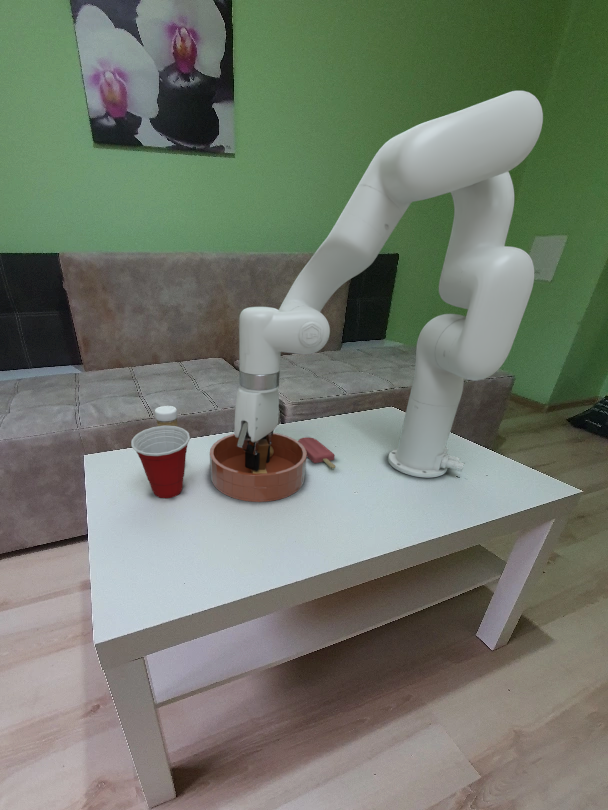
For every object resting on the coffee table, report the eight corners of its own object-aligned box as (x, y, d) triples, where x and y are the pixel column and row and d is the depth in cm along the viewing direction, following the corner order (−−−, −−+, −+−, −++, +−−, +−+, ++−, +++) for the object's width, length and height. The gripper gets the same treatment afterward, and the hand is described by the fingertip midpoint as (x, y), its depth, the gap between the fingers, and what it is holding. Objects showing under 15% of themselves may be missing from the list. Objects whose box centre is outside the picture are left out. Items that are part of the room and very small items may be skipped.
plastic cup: (128, 500, 75) (117, 444, 69) (158, 473, 84) (151, 422, 77) (177, 511, 72) (171, 454, 66) (203, 482, 81) (199, 430, 74)
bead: (269, 460, 90) (275, 449, 90) (269, 460, 87) (276, 448, 87) (258, 454, 90) (264, 443, 90) (258, 453, 87) (264, 442, 87)
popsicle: (323, 466, 84) (294, 438, 96) (322, 472, 84) (293, 444, 96) (345, 462, 85) (313, 435, 97) (344, 468, 86) (312, 441, 98)
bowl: (320, 471, 85) (323, 446, 82) (270, 514, 71) (271, 487, 68) (248, 446, 95) (248, 424, 92) (191, 480, 81) (189, 455, 78)
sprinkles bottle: (157, 465, 87) (150, 408, 80) (174, 458, 90) (168, 403, 83) (168, 472, 84) (162, 414, 77) (186, 465, 87) (181, 409, 80)
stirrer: (271, 489, 77) (276, 460, 73) (256, 490, 77) (261, 460, 73) (258, 453, 88) (262, 426, 84) (245, 453, 88) (248, 425, 84)
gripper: (264, 366, 80) (262, 446, 90) (216, 387, 68) (219, 476, 78) (297, 372, 77) (291, 454, 86) (252, 395, 65) (251, 487, 74)
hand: (257, 464), depth 82 cm, fingers closed on stirrer, 3 cm apart
